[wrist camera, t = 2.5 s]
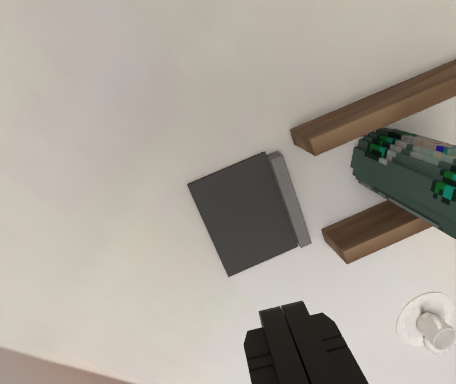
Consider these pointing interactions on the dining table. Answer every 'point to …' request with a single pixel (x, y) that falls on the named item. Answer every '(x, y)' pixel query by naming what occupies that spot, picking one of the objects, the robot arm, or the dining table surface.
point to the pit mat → (251, 211)
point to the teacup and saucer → (430, 325)
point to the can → (410, 174)
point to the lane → (361, 125)
